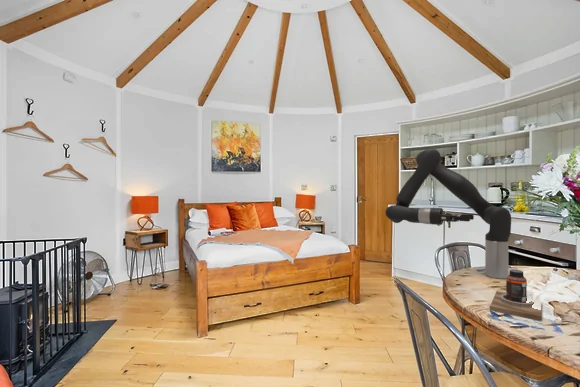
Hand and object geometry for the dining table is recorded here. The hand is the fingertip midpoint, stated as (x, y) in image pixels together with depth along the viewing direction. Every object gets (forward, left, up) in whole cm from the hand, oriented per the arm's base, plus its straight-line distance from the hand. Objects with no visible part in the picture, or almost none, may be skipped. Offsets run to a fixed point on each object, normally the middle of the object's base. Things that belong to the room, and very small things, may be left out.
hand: (471, 217), depth 131 cm
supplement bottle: (+12, +16, -29) cm, 35 cm away
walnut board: (+12, +16, -30) cm, 36 cm away
